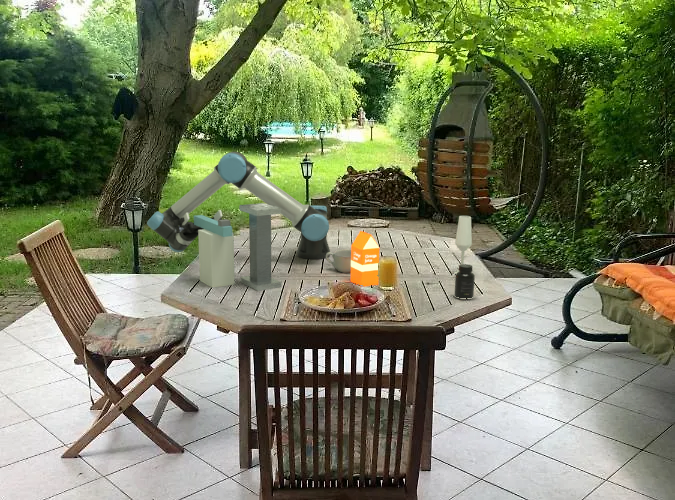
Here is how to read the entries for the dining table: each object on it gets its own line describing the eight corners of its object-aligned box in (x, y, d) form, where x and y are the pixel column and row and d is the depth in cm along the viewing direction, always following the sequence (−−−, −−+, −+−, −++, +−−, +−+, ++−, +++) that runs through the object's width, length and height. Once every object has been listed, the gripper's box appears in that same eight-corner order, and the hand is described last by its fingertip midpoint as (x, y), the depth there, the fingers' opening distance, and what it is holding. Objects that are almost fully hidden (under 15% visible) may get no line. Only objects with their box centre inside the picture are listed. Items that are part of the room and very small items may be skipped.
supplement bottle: (452, 294, 237) (453, 263, 234) (470, 294, 237) (472, 263, 235) (457, 300, 230) (459, 268, 227) (475, 300, 231) (477, 267, 228)
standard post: (240, 282, 248) (239, 205, 242) (263, 278, 254) (263, 203, 247) (257, 290, 237) (256, 210, 230) (281, 287, 243) (281, 208, 236)
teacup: (362, 269, 271) (362, 250, 269) (354, 275, 261) (354, 256, 259) (331, 266, 276) (331, 247, 274) (322, 272, 266) (322, 253, 264)
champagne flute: (457, 276, 262) (461, 218, 257) (450, 272, 269) (453, 215, 263) (472, 275, 264) (476, 218, 259) (465, 271, 270) (468, 215, 265)
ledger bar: (193, 224, 255) (193, 210, 254) (202, 223, 257) (201, 210, 256) (223, 236, 233) (223, 222, 232) (232, 236, 235) (232, 221, 234)
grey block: (199, 280, 249) (198, 229, 245) (221, 277, 254) (220, 227, 250) (212, 287, 240) (211, 235, 235) (234, 284, 245) (233, 233, 240)
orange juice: (361, 286, 245) (362, 235, 240) (350, 281, 253) (351, 231, 248) (378, 284, 248) (380, 233, 244) (367, 279, 256) (368, 229, 252)
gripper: (217, 238, 273) (236, 220, 256) (160, 244, 259) (175, 226, 242) (213, 222, 275) (231, 203, 257) (156, 227, 261) (171, 207, 244)
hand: (204, 214), depth 250 cm, fingers open, 13 cm apart
